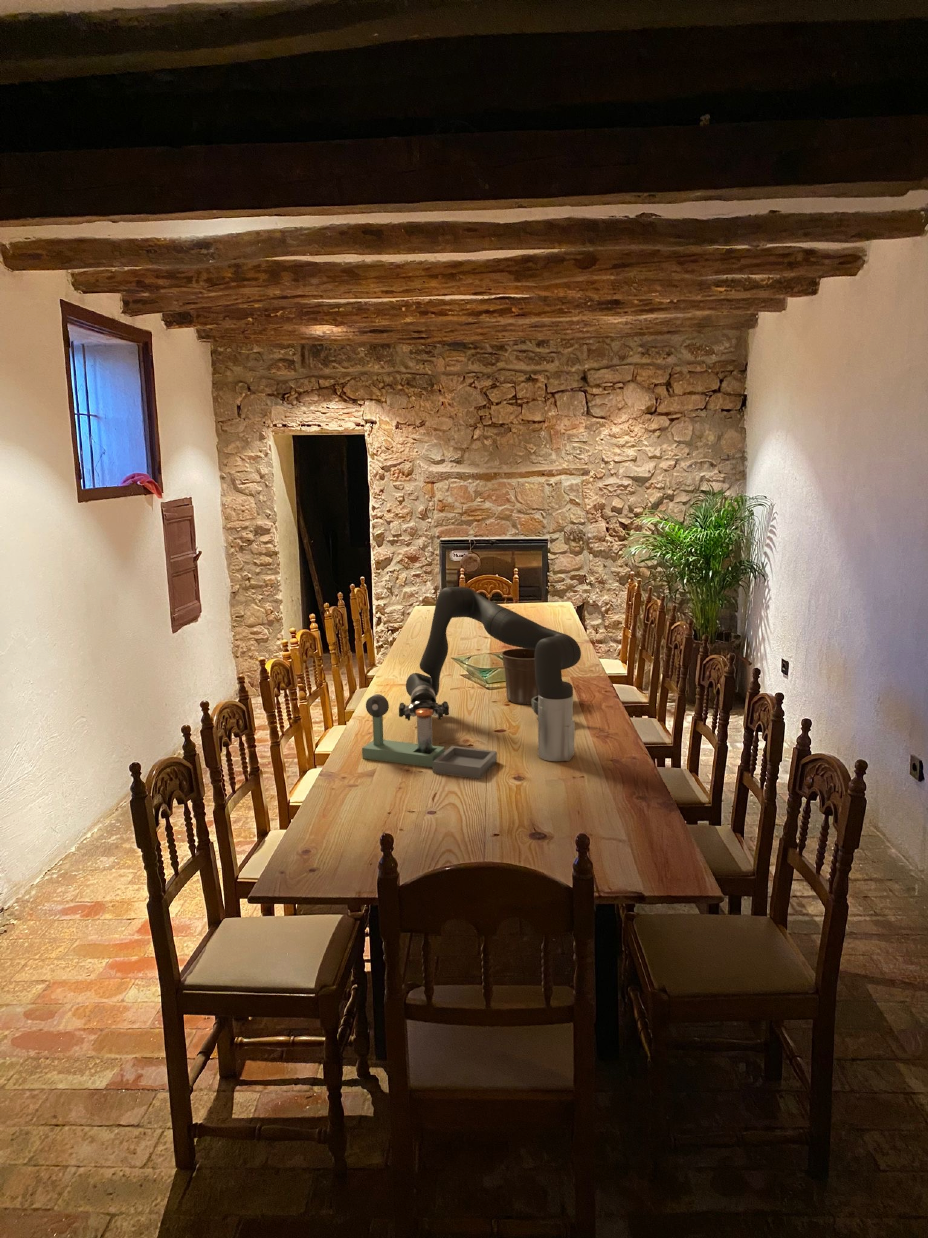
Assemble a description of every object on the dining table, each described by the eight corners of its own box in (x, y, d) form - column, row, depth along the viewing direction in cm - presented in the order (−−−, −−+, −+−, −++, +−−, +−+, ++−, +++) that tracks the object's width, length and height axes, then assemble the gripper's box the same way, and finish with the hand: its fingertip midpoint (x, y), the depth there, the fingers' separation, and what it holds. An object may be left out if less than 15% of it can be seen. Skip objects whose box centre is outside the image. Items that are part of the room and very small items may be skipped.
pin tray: (496, 762, 227) (496, 751, 227) (480, 779, 215) (479, 767, 215) (451, 756, 232) (451, 745, 231) (433, 772, 220) (432, 761, 219)
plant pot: (549, 693, 292) (550, 647, 289) (549, 707, 277) (550, 658, 274) (502, 692, 294) (502, 647, 291) (500, 706, 278) (499, 658, 275)
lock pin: (436, 759, 230) (435, 709, 227) (429, 764, 226) (428, 714, 223) (421, 757, 232) (419, 707, 229) (414, 762, 228) (412, 712, 225)
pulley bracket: (444, 757, 231) (443, 697, 228) (433, 767, 224) (431, 705, 221) (375, 749, 239) (373, 690, 235) (362, 758, 231) (360, 698, 228)
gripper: (399, 689, 251) (398, 704, 235) (447, 687, 252) (449, 702, 236) (399, 713, 252) (399, 730, 236) (447, 712, 253) (450, 728, 237)
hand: (424, 716), depth 236 cm, fingers open, 8 cm apart
